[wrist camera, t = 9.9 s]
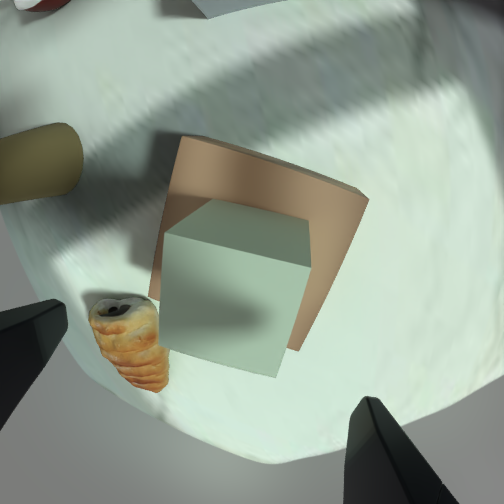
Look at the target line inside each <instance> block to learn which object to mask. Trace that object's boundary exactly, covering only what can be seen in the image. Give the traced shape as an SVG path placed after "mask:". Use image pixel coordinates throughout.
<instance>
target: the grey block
mask: <svg viewBox="0 0 504 504" xmlns="http://www.w3.org/2000/svg"><path fill="white" fill-rule="evenodd" d="M191 1H192V2H193V3H194V4H195V5H196V6H197V7H198V8H199V9H200V10H201V11H202V13H203V14H204V15H205V16H206V17H207V18H208V19H211V18H214V17H217V16H221V15H224V14H228V13H231V12H235V11H239V10H243V9H247V8H251V7H255V6H260V5H265V4H270V3H275V2H280V1H286V0H191Z"/></svg>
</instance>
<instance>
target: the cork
mask: <svg viewBox="0 0 504 504" xmlns="http://www.w3.org/2000/svg"><path fill="white" fill-rule="evenodd" d="M83 159H84V158H83V149H82V144H81V141H80V139H79V136H78V134H77V133H76V132H75V130H74V129H73V128H72V127H71V126H69V125H68V124H66V123H54V124H50V125H46V126H42V127H38V128H34V129H31V130H27V131H24V132H20V133H17V134H14V135H11V136H7V137H4V138H1V139H0V205H3V204H8V203H14V202H20V201H26V200H32V199H39V198H46V197H52V196H59V195H65V194H67V193H68V192H70V191H71V190H73V188H74V187H75V185H76V184H77V183H78V181H79V178H80V175H81V172H82V167H83Z"/></svg>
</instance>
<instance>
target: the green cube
mask: <svg viewBox="0 0 504 504" xmlns="http://www.w3.org/2000/svg"><path fill="white" fill-rule="evenodd" d="M310 271H311V250H310V233H309V220H305V219H300V218H296V217H292V216H288V215H284V214H279V213H275V212H271V211H267V210H262V209H258V208H253V207H249V206H244V205H240V204H235V203H231V202H226V201H222V200H217V199H212V200H210V201H209V202H207V203H206V204H204V205H203V206H202V207H200V208H199V209H197V210H196V211H194V212H193V213H191V214H190V215H189V216H187V217H186V218H184V219H183V220H181V221H180V222H179V223H177V224H176V225H174V226H173V227H172V228H170V229H169V230H167V231H166V232H165V233H164V244H163V257H162V271H161V287H160V307H159V341H158V345H159V346H162V347H165V348H168V349H171V350H174V351H177V352H180V353H183V354H187V355H190V356H193V357H197V358H200V359H203V360H207V361H210V362H214V363H217V364H221V365H225V366H228V367H232V368H236V369H240V370H244V371H248V372H252V373H256V374H260V375H265V376H269V377H273V378H276V376H277V373H278V370H279V368H280V365H281V362H282V359H283V356H284V353H285V350H286V347H287V344H288V341H289V338H290V335H291V332H292V329H293V326H294V323H295V320H296V317H297V314H298V310H299V307H300V304H301V301H302V298H303V294H304V291H305V288H306V284H307V281H308V278H309V274H310Z"/></svg>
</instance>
